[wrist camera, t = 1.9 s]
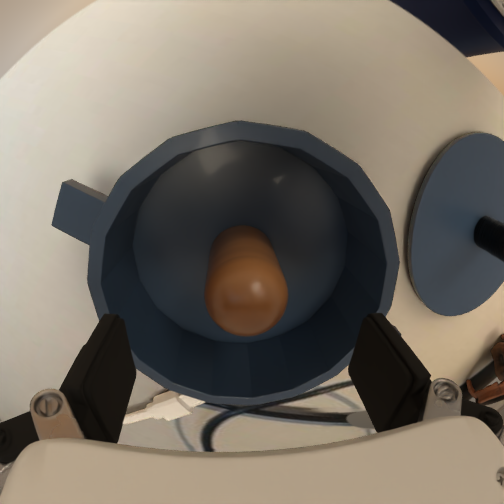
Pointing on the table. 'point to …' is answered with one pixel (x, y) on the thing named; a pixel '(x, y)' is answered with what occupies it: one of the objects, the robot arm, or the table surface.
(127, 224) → the pot
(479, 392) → the orange-brown curved ring piece
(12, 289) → the table surface
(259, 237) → the brown domed cylinder
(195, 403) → the charging cable
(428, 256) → the lid
